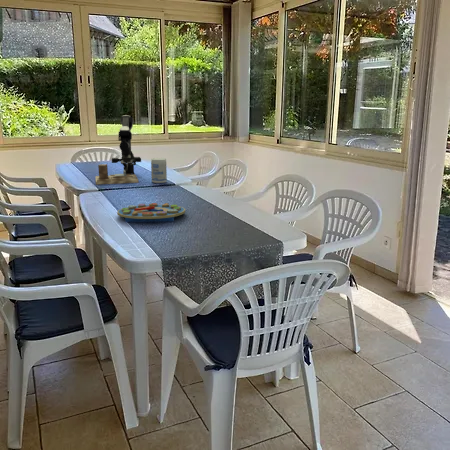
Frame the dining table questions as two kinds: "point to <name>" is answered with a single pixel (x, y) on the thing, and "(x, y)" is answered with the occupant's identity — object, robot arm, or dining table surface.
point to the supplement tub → (158, 170)
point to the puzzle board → (117, 179)
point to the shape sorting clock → (150, 212)
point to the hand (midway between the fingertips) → (127, 172)
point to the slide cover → (121, 174)
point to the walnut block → (103, 171)
